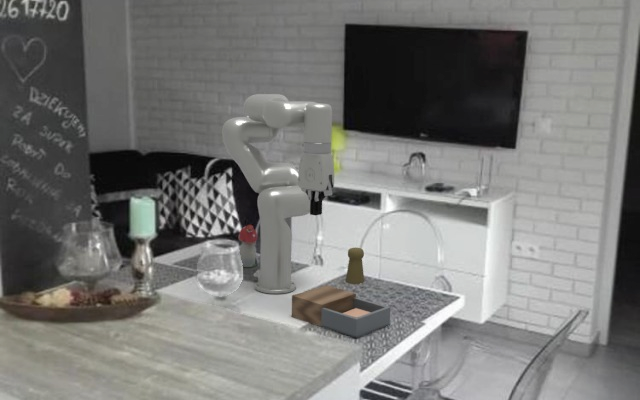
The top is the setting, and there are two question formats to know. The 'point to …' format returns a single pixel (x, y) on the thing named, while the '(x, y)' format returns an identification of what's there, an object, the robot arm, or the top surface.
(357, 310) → the terracotta block
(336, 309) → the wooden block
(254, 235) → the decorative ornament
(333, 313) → the box
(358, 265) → the cork
